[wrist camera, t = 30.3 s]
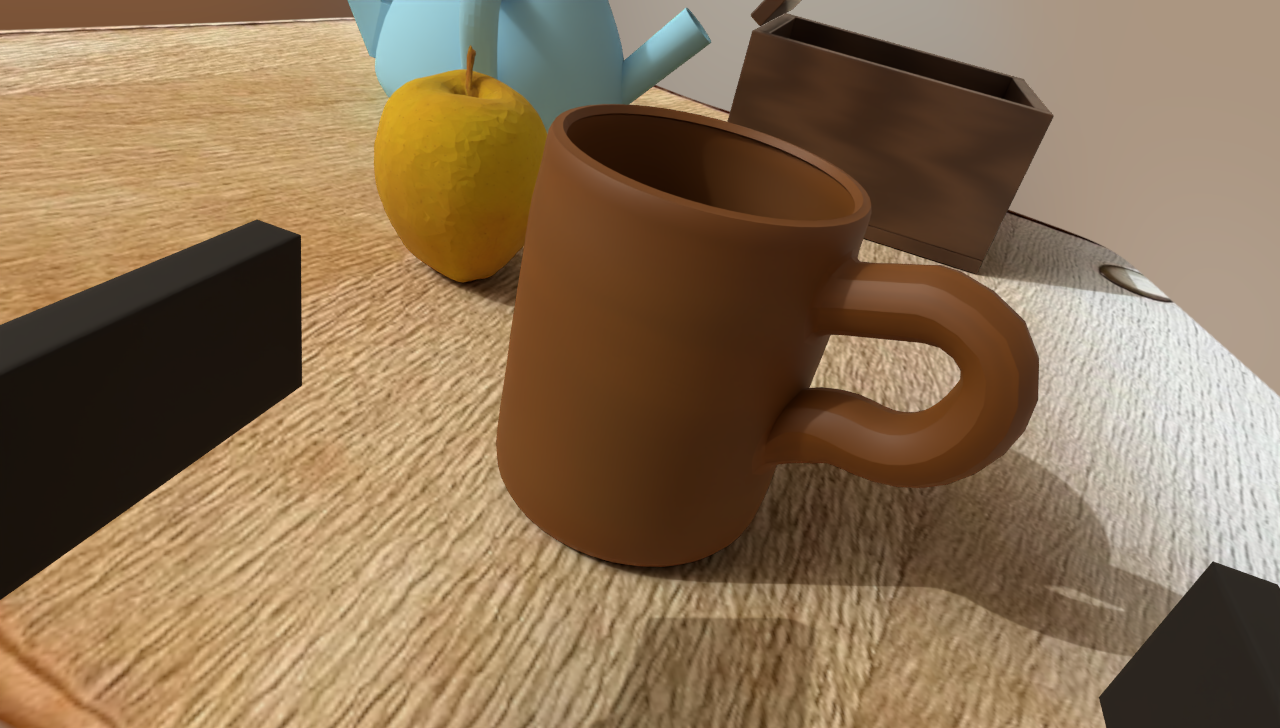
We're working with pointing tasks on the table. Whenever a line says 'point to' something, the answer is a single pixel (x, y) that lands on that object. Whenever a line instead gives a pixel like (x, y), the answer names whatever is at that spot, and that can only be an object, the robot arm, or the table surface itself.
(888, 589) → the table surface
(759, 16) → the lid
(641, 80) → the teapot
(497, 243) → the apple
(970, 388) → the mug
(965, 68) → the chest
